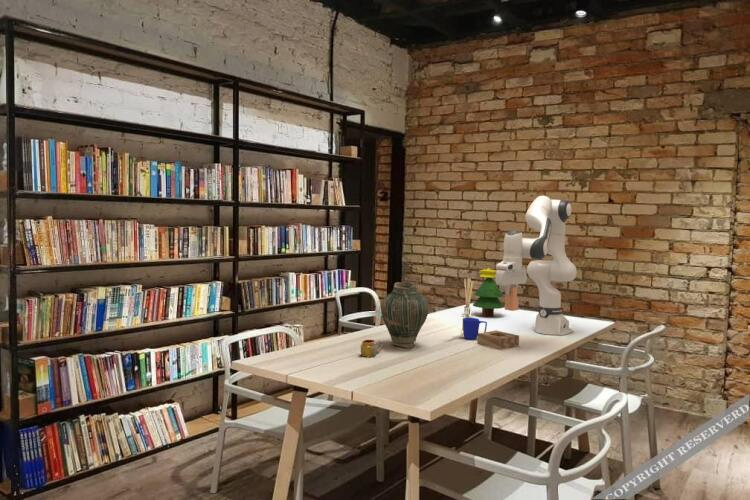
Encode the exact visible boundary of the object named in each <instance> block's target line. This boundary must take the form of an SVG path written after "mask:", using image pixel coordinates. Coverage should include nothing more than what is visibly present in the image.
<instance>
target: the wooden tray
mask: <svg viewBox="0 0 750 500" xmlns="http://www.w3.org/2000/svg"><path fill="white" fill-rule="evenodd" d="M476 340H477V342H476V344H477V345H480V346H484V347H489V348H493V349H496V350H501V351H502V350H505V349H509V348H515V347H519V345H520V335H519V334H514V333H511V332H505V331H500V330H492V331H486V332H484V331H483V332H480V333H479V332H478V336H477V338H476Z"/></svg>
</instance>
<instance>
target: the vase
mask: <svg viewBox="0 0 750 500" xmlns="http://www.w3.org/2000/svg"><path fill="white" fill-rule="evenodd" d="M417 289H418V288H417V286H416V284H415V283H414V282H412V281H401V282H399V281H397V282H395V283H394V285H393V289H392V291H391V292H390V293H388V294H387V295H385V296H384V298H383V300H382V302H381V305H380V306H381V307H380V311H381V317H382V320H383V322H384V323H383V324H384V325H385V327H386V329H387V331H388V333H389V336H390V339H391V341H392V343H391V344H392V346H393V345H394V346H397V347H401V348H406V349H407V348H408V349H410V348H414V347H415V342H416V341H417V337H418V335H419V333H420V331H421V329H422V327H423V326H424V324H425V322H426V320H427V318H428V314H429V309H430V307H429V303H428V299H427V298H426V297H425V295H423V294H421V293H419V292H418V290H417Z"/></svg>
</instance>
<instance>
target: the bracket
mask: <svg viewBox="0 0 750 500" xmlns="http://www.w3.org/2000/svg"><path fill="white" fill-rule="evenodd" d="M509 290H510V291H511V294H509V295H508V294H506V290H505V292H504V310H506V311H512V312H515V311H519V297H518V288H517V287H513V286H512V285H510V287H509Z"/></svg>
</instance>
